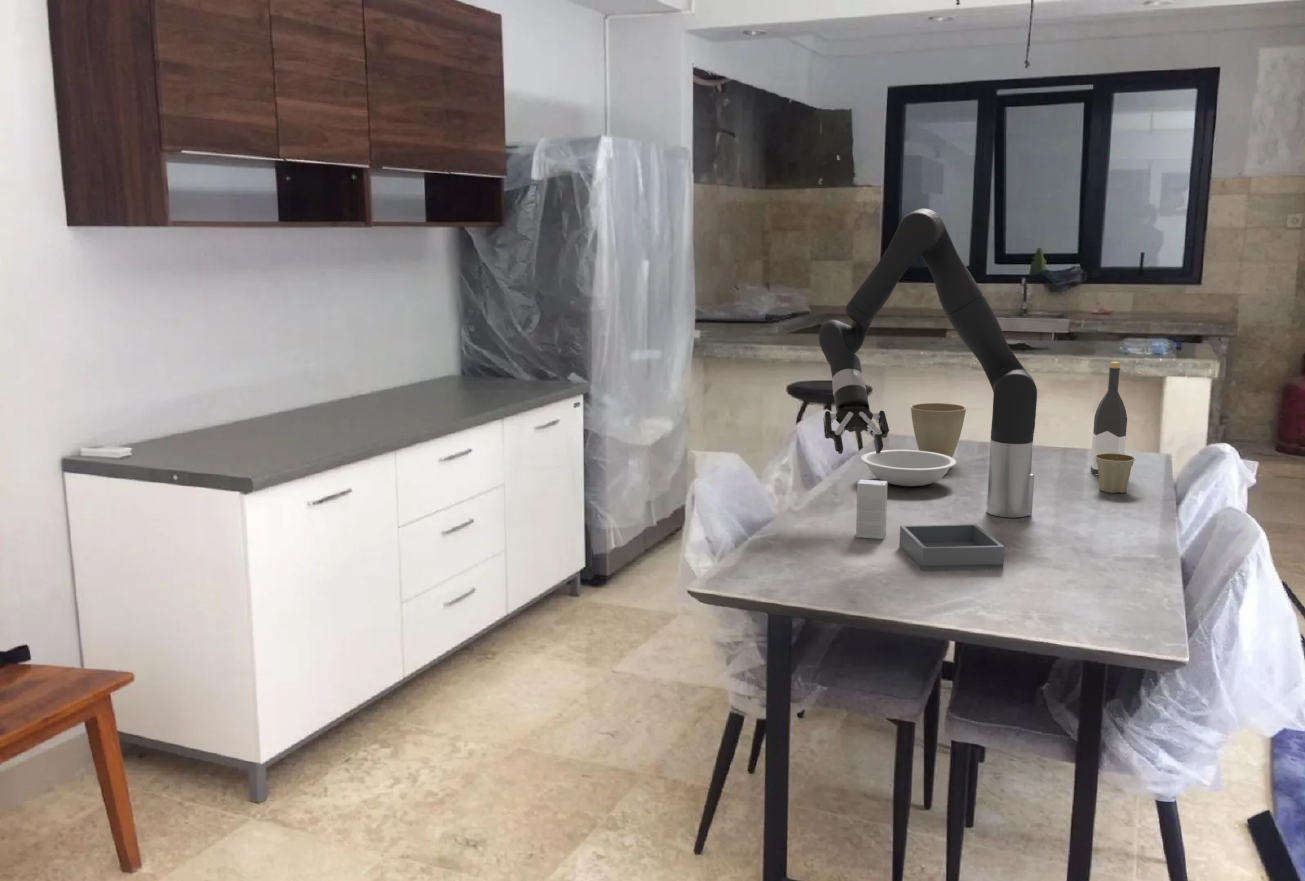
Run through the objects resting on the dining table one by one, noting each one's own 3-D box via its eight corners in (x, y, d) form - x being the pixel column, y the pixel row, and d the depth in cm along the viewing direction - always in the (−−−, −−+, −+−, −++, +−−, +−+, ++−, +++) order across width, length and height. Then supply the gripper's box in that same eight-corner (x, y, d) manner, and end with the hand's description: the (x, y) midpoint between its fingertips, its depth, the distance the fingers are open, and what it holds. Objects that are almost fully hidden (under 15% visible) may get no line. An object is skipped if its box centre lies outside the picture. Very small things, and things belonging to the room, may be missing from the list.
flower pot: (1092, 493, 265) (1094, 459, 263) (1092, 484, 273) (1094, 451, 271) (1133, 496, 261) (1136, 462, 259) (1132, 487, 270) (1135, 454, 268)
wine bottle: (1125, 472, 286) (1134, 361, 280) (1119, 478, 280) (1129, 364, 274) (1093, 469, 291) (1101, 359, 285) (1087, 474, 284) (1095, 362, 278)
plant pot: (961, 458, 305) (964, 403, 302) (964, 469, 291) (967, 412, 288) (908, 456, 309) (910, 401, 306) (908, 467, 294) (910, 410, 291)
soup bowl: (941, 499, 260) (942, 473, 258) (847, 488, 271) (847, 463, 270) (965, 479, 280) (966, 454, 279) (876, 469, 292) (877, 446, 290)
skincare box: (886, 534, 231) (888, 480, 228) (883, 540, 227) (885, 485, 224) (858, 532, 233) (859, 478, 230) (855, 537, 229) (856, 483, 226)
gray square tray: (974, 544, 223) (976, 524, 222) (1003, 568, 207) (1004, 546, 206) (899, 546, 222) (900, 525, 221) (922, 570, 206) (923, 548, 206)
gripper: (822, 383, 243) (831, 443, 234) (883, 383, 244) (895, 442, 235) (816, 402, 250) (825, 461, 241) (877, 402, 250) (887, 460, 241)
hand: (860, 451), depth 238 cm, fingers open, 8 cm apart
